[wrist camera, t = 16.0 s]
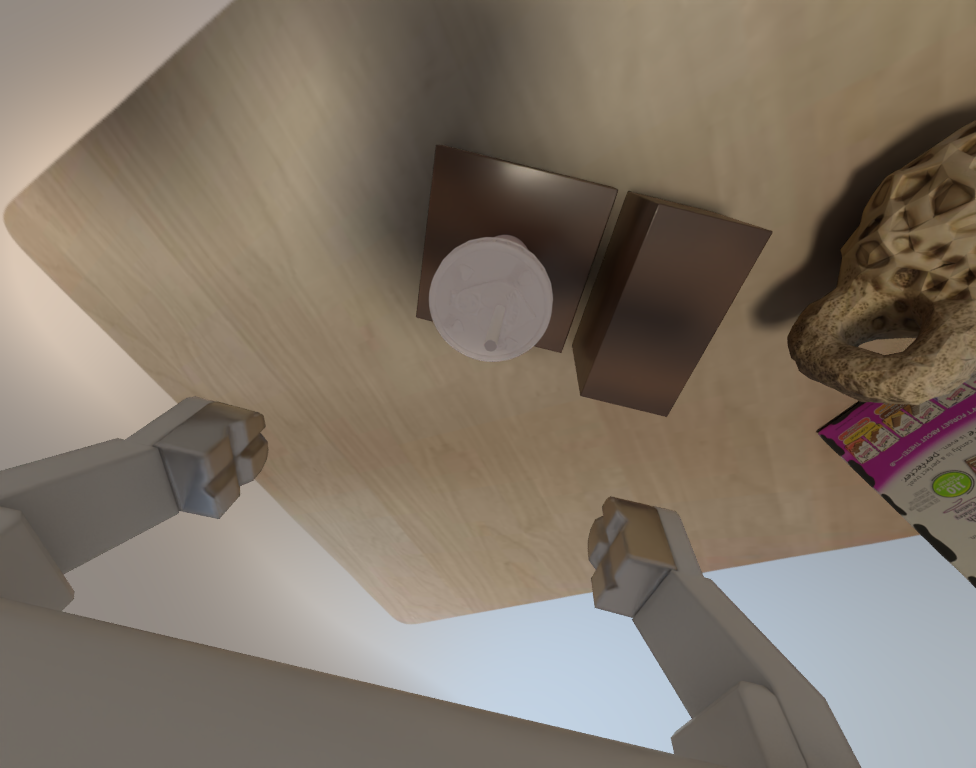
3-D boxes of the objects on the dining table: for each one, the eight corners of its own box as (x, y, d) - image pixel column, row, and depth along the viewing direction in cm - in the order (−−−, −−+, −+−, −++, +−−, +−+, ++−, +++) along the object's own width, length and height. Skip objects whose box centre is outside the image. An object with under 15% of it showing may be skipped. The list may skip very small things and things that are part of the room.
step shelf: (442, 145, 26) (407, 141, 19) (713, 211, 26) (773, 231, 19) (422, 309, 32) (390, 350, 25) (640, 362, 32) (667, 417, 26)
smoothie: (537, 312, 29) (535, 421, 17) (455, 295, 29) (396, 391, 17) (560, 224, 26) (577, 283, 14) (467, 204, 26) (405, 246, 14)
